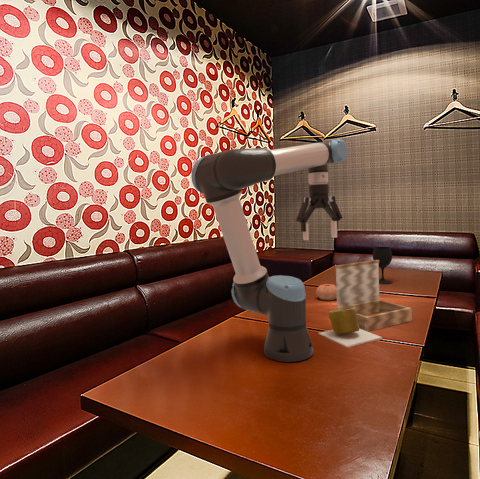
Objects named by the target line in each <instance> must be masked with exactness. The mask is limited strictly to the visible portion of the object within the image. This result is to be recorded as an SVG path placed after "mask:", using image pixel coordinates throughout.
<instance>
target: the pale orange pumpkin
mask: <svg viewBox="0 0 480 479" xmlns="http://www.w3.org/2000/svg"><path fill="white" fill-rule="evenodd" d="M316 296H317V297H318V298H319V299H320V300H323V301H334V300H337V291H336V284H331V283H325V284H320V285H319V286H318V287H317V288H316Z"/></svg>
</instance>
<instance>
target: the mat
mask: <svg viewBox="0 0 480 479" xmlns="http://www.w3.org/2000/svg"><path fill="white" fill-rule="evenodd" d="M317 334H318V335H320V336H322V337H324V338H326V339H327V340H330V341H331V342H335V343H337V344H339V345H341V347H345V348H347V349H348V348H352V347H355V346H356V347H357V346H361V345H363V344H368V343H372V342H376V341H379V340H383V337H382V336H379V335H378V334H374V333H372V332H370V331H365V330H362V329H359V331H356V332H352V333H347V334H342V335H337V334H335V332H334V330H333V329H330V330H325V331H321V332H318V333H317Z"/></svg>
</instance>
